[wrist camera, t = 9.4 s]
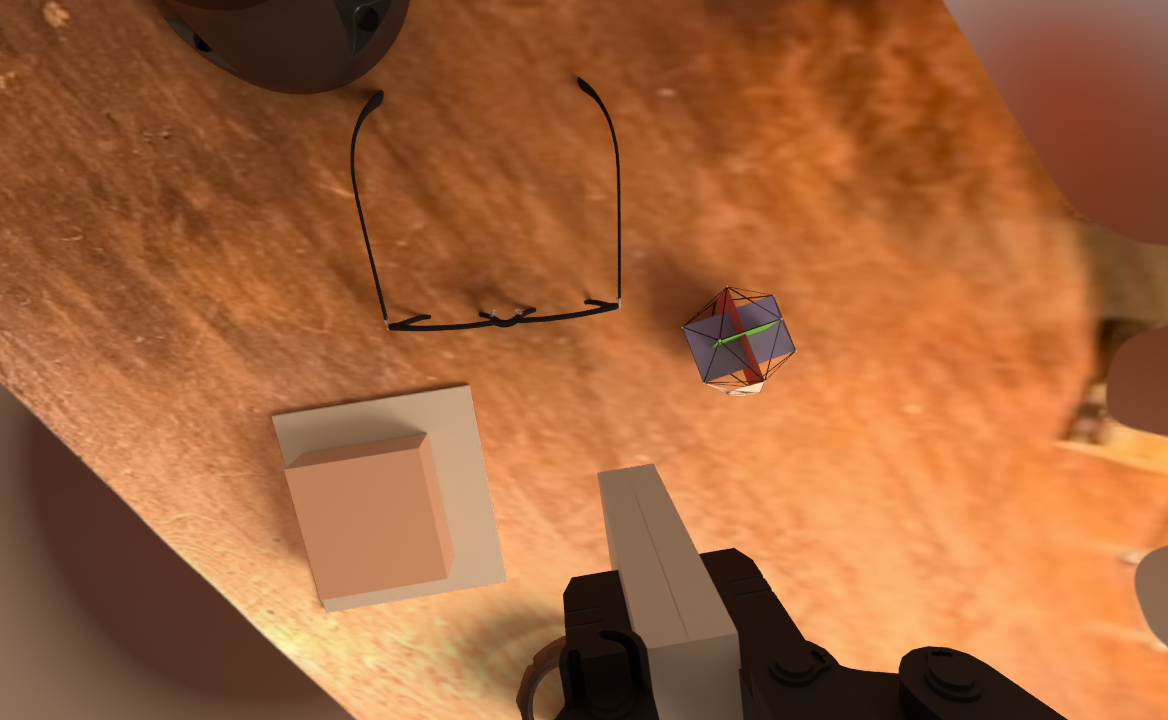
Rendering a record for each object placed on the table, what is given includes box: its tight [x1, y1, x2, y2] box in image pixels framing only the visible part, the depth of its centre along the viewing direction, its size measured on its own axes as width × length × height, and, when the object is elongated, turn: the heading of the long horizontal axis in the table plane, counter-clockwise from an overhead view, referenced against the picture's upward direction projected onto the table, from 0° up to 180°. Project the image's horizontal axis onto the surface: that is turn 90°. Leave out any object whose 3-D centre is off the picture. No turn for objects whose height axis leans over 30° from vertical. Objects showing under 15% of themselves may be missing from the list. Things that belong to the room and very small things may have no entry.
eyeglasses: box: [351, 77, 621, 331], centre depth 37 cm, size 16×16×4 cm
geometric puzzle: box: [681, 285, 797, 396], centre depth 38 cm, size 7×7×8 cm
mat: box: [272, 385, 507, 613], centre depth 42 cm, size 16×14×1 cm
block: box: [284, 433, 454, 601], centre depth 40 cm, size 10×3×9 cm
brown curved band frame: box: [516, 635, 566, 720], centre depth 44 cm, size 12×10×8 cm
